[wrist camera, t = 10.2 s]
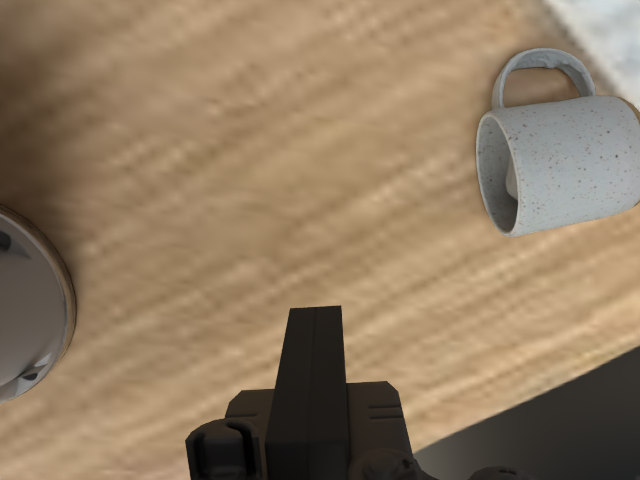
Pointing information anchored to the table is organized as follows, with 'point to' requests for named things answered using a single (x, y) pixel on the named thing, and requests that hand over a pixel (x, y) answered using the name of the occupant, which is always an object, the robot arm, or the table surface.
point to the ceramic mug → (557, 153)
